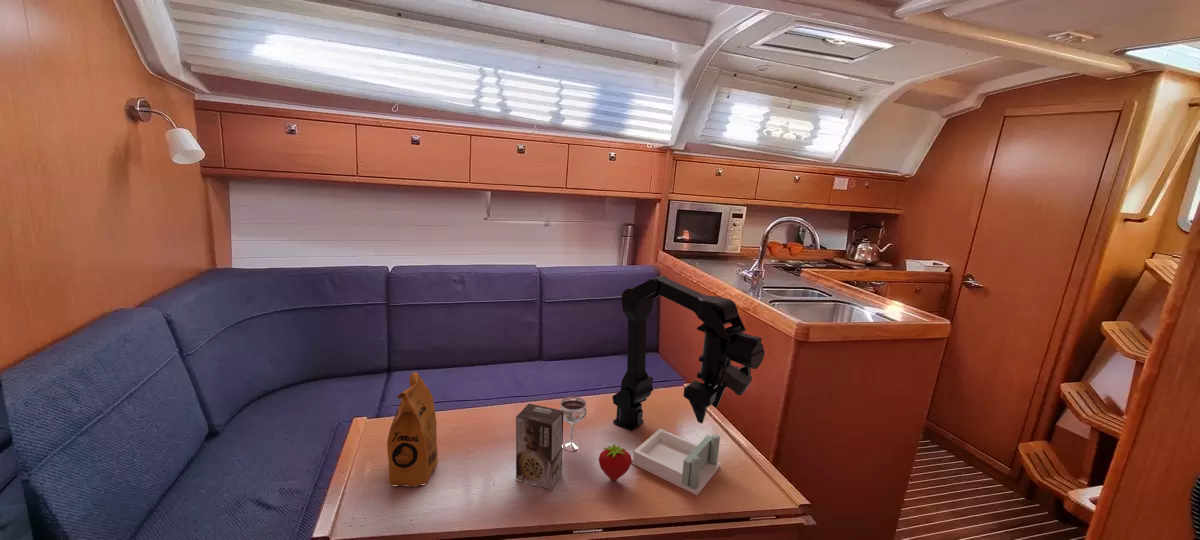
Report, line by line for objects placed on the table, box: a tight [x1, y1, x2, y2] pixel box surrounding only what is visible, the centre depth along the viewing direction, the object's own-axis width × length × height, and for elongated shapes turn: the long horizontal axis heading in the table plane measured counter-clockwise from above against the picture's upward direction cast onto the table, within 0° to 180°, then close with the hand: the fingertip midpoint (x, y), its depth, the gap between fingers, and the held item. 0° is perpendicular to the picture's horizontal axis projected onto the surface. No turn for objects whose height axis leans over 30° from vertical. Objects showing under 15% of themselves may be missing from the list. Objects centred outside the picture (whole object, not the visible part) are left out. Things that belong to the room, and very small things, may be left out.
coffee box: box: [515, 403, 564, 491], centre depth 102 cm, size 9×6×16 cm
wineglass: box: [559, 396, 587, 449], centre depth 114 cm, size 7×7×12 cm
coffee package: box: [386, 371, 439, 487], centre depth 101 cm, size 10×12×22 cm
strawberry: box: [598, 443, 632, 482], centre depth 102 cm, size 6×8×10 cm
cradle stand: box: [631, 428, 721, 496], centre depth 109 cm, size 18×13×8 cm
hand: (707, 414), depth 107 cm, fingers open, 9 cm apart
